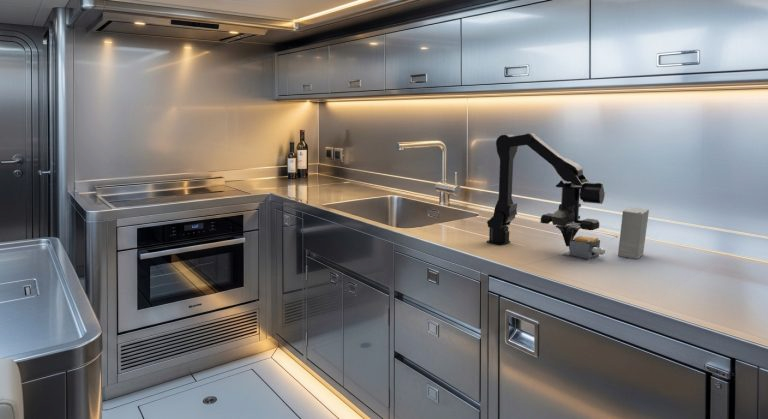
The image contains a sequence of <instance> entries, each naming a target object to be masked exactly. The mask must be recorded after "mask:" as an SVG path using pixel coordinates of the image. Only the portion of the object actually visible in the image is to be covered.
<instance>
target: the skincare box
mask: <svg viewBox="0 0 768 419" xmlns="http://www.w3.org/2000/svg"><path fill="white" fill-rule="evenodd" d="M649 213H650V209H647V208H641V207H635V206H629V207H627V208H626V209H624V210H622V216H621V224H620V225H621V226H620V233H619V234H620V235H619V242H618V250H617V256H618V257H624V258H628V259H635V260H638V259H639V258H640V257H642V256H643V254H644V253H645V252H644V250H645V242H646V236H647V234H646V233H647V228H648V220H649Z"/></svg>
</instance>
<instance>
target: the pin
mask: <svg viewBox="0 0 768 419" xmlns="http://www.w3.org/2000/svg"><path fill="white" fill-rule="evenodd" d="M568 251H570V245H569V247H568ZM592 253H595V254H599V256H600V255H602V256H603V255H605V253H606V250H605V249H604V248H601V247H600V248H596V247H592Z"/></svg>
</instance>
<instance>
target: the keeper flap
mask: <svg viewBox="0 0 768 419" xmlns="http://www.w3.org/2000/svg"><path fill="white" fill-rule="evenodd" d="M573 240H577V241H584V242H587V241H588V240H590V242H591V243H592V242H595V241H598V240H599V238H596V237H591V236H583V235H582V236H581V235H579V236H577V237H574V238H573Z"/></svg>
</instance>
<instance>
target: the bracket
mask: <svg viewBox="0 0 768 419" xmlns="http://www.w3.org/2000/svg"><path fill="white" fill-rule="evenodd" d="M595 238H598V236H597V237H595ZM600 245H601V240H600V239H599V238H598V241H595V242H592V243H591V242H590V240H588V241H587V242H584V241H577V240H574V239H573V240H571V241H570V250H568V251H566V252H563V253H562V254H561V255H562V256H565V257H571V258H575V259H580V260H586V261H589V260H592V259H595V258H598V257H599V256H600V254H595V253H592V247H596V248H601V247H600Z"/></svg>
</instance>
